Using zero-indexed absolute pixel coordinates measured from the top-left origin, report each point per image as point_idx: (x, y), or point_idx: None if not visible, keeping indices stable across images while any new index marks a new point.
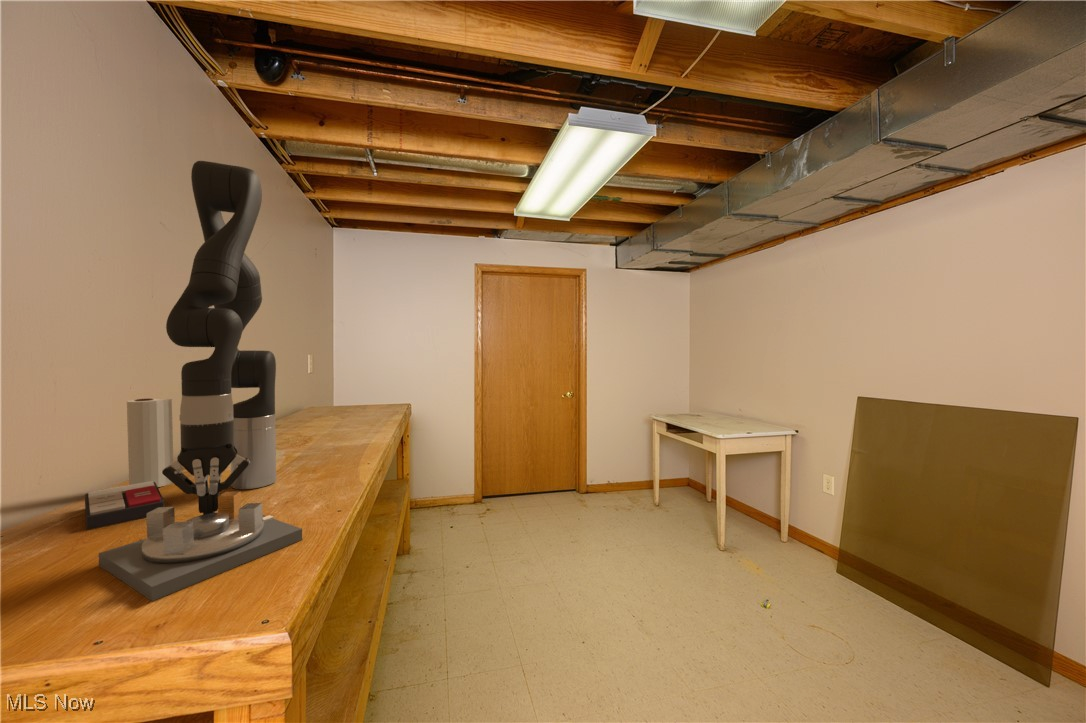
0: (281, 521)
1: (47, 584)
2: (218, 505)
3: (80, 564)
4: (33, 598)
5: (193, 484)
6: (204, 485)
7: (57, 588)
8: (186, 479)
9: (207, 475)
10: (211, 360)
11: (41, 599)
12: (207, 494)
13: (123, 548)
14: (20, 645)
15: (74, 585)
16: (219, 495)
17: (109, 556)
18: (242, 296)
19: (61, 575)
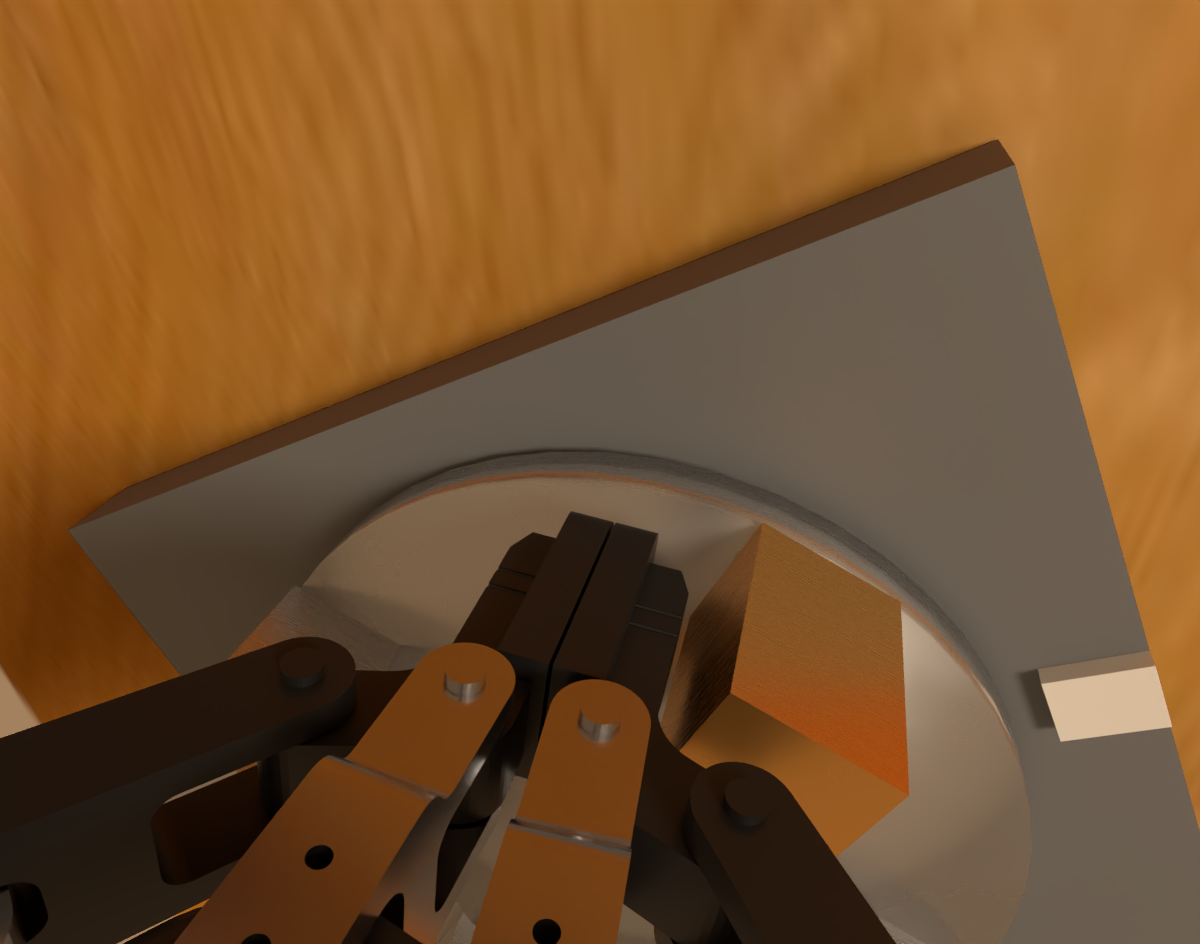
0: (1192, 808)
1: (14, 558)
2: (668, 710)
3: (18, 397)
4: (46, 662)
5: (303, 756)
6: (450, 898)
7: (82, 630)
8: (165, 783)
9: (415, 851)
10: None
11: (82, 691)
12: (526, 733)
13: (173, 553)
14: None
15: (136, 647)
16: (663, 686)
17: (152, 620)
18: None
19: (12, 491)
